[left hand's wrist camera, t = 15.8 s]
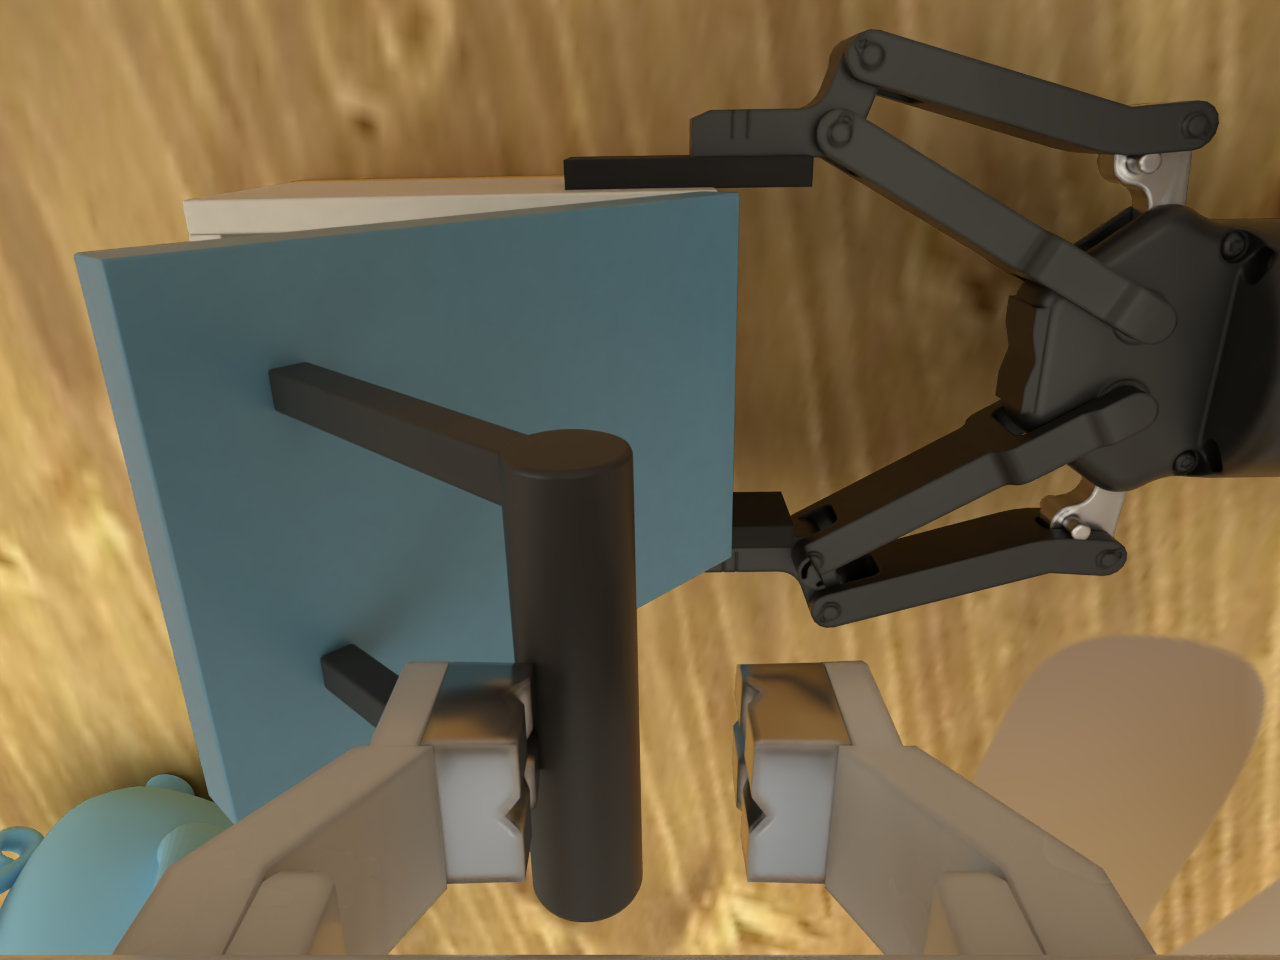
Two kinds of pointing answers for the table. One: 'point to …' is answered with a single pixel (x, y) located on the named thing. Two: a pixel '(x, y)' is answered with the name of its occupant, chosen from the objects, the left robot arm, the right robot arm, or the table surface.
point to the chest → (382, 202)
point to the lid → (430, 480)
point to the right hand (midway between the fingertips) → (576, 360)
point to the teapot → (98, 866)
